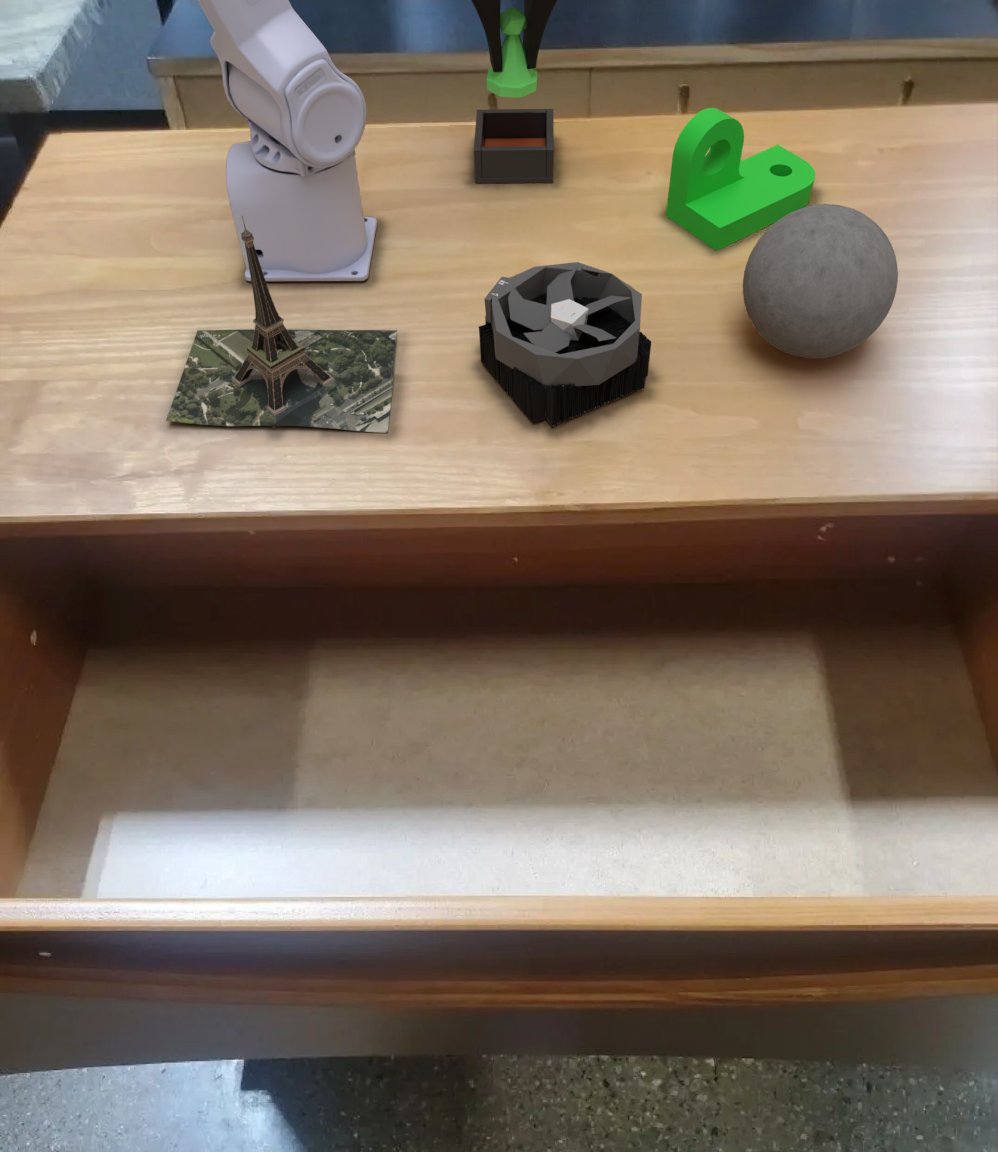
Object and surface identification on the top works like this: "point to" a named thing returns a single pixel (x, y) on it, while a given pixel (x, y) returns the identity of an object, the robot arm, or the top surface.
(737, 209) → the mechanical part
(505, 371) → the cpu cooler
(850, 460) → the top surface
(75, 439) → the top surface
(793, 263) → the decorative ball
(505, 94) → the game piece
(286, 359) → the eiffel tower figurine
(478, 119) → the pad holder
